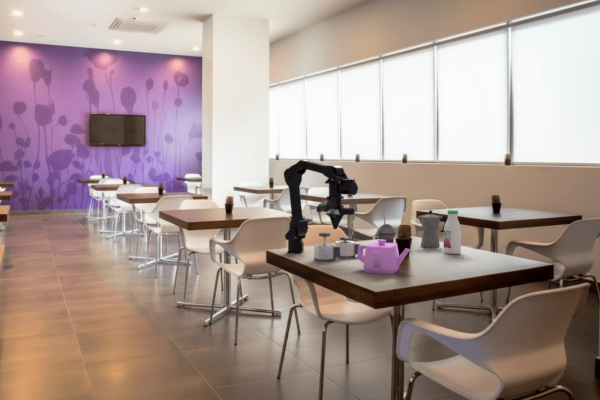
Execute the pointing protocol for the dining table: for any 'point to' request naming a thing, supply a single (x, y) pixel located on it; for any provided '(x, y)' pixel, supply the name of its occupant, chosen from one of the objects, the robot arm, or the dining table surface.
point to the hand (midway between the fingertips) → (335, 229)
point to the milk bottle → (452, 234)
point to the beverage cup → (386, 232)
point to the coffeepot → (430, 229)
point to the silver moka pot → (326, 252)
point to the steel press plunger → (324, 237)
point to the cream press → (347, 248)
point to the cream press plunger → (345, 239)
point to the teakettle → (381, 257)
